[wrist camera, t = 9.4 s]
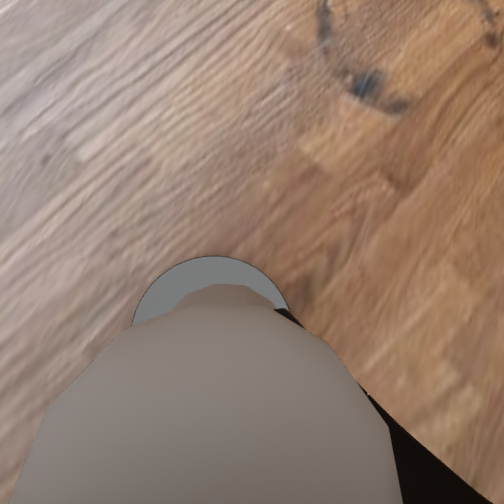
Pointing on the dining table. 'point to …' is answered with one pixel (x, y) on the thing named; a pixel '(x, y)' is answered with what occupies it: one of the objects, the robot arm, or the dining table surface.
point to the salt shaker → (212, 417)
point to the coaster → (202, 284)
